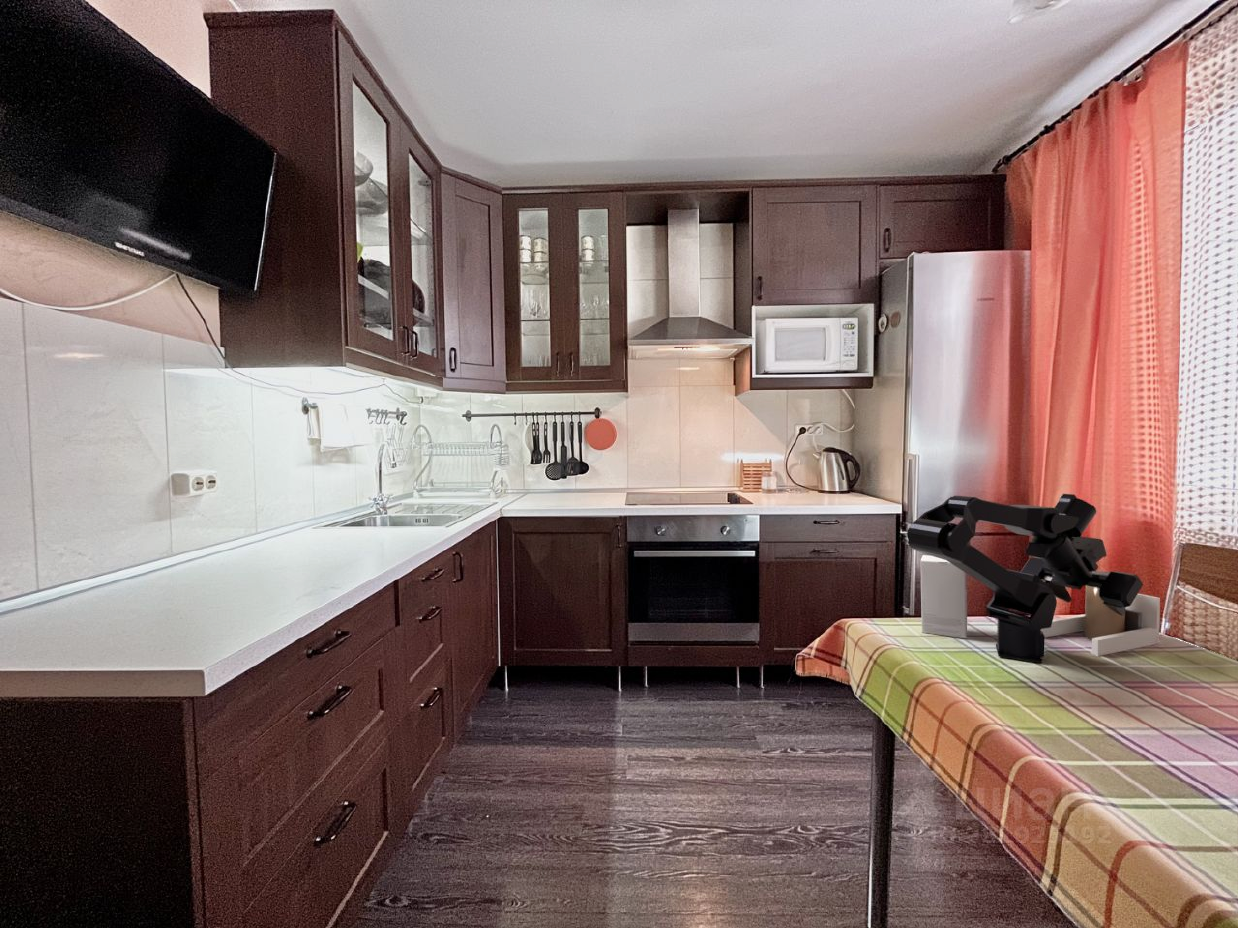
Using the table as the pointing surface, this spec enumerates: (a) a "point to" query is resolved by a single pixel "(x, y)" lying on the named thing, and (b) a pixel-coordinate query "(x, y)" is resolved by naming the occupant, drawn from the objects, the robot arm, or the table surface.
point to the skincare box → (943, 598)
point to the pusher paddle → (1132, 620)
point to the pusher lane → (1120, 640)
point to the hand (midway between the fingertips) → (1095, 606)
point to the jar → (1100, 614)
